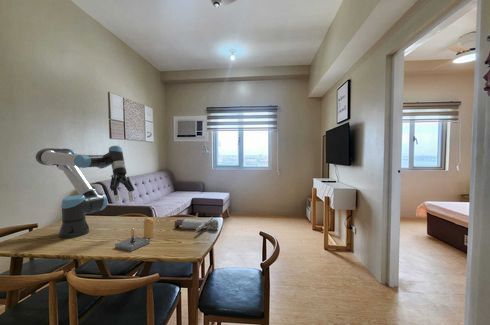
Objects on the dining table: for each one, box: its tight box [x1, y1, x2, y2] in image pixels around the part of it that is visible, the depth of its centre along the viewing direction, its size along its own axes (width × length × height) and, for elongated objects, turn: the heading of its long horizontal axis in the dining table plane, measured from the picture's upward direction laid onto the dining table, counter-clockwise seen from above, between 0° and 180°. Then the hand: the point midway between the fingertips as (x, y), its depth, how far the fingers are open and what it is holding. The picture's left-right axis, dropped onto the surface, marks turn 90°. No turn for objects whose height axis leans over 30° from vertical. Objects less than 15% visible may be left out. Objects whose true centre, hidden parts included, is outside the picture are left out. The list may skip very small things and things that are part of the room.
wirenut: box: [143, 217, 154, 239], centre depth 135 cm, size 5×5×11 cm
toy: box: [174, 216, 219, 233], centre depth 150 cm, size 30×7×30 cm
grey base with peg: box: [114, 228, 151, 252], centre depth 122 cm, size 12×12×9 cm
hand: (125, 200), depth 139 cm, fingers open, 13 cm apart
